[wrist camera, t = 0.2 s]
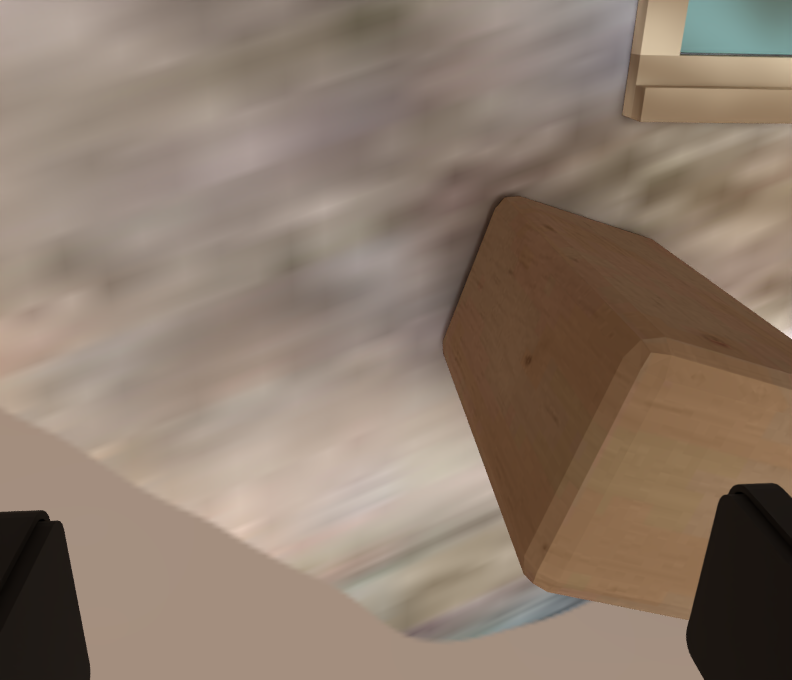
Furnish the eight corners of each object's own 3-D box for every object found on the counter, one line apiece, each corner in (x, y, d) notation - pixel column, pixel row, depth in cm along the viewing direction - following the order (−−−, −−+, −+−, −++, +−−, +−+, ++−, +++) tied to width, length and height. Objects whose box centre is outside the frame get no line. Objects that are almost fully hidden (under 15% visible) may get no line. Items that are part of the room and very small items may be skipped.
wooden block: (497, 185, 40) (650, 342, 22) (660, 239, 42) (920, 421, 24) (434, 349, 44) (520, 599, 26) (586, 390, 46) (765, 647, 28)
